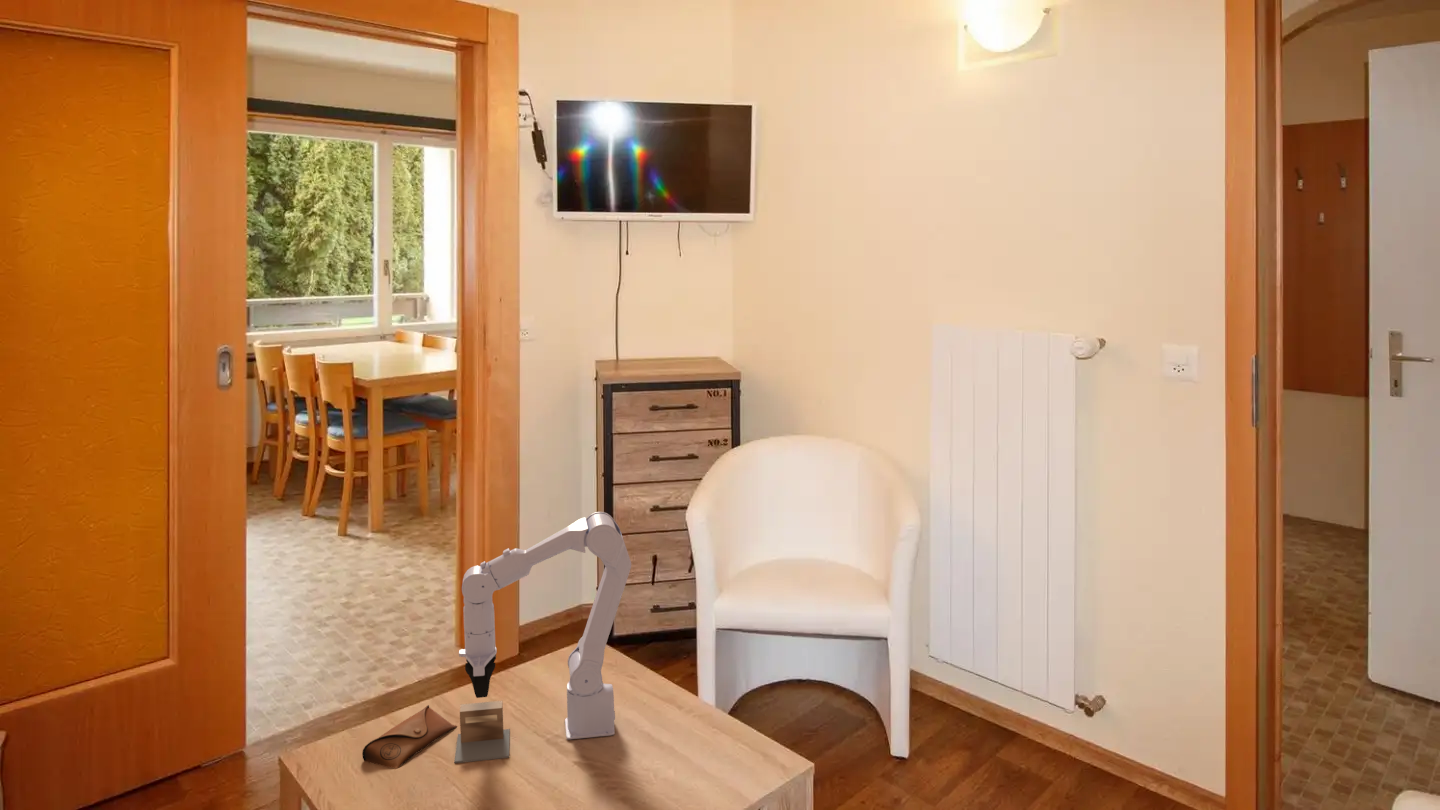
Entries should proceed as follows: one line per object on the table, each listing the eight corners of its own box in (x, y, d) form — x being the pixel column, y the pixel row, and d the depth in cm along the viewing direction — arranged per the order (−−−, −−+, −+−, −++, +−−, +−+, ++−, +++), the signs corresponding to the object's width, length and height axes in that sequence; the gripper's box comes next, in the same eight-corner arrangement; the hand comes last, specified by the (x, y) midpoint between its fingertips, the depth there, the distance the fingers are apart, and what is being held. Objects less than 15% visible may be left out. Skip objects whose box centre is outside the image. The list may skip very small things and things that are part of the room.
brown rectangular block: (503, 730, 182) (502, 700, 181) (503, 738, 180) (502, 708, 178) (461, 734, 181) (460, 704, 180) (460, 742, 178) (459, 711, 177)
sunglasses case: (397, 770, 169) (381, 737, 169) (372, 780, 172) (357, 748, 172) (460, 725, 185) (445, 695, 186) (437, 735, 188) (422, 705, 189)
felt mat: (509, 730, 183) (509, 729, 183) (509, 757, 174) (508, 755, 174) (458, 735, 181) (458, 733, 181) (454, 763, 172) (454, 761, 171)
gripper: (460, 615, 183) (463, 679, 185) (455, 646, 169) (458, 714, 171) (496, 612, 184) (499, 676, 186) (494, 642, 170) (497, 710, 172)
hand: (482, 694), depth 179 cm, fingers closed
